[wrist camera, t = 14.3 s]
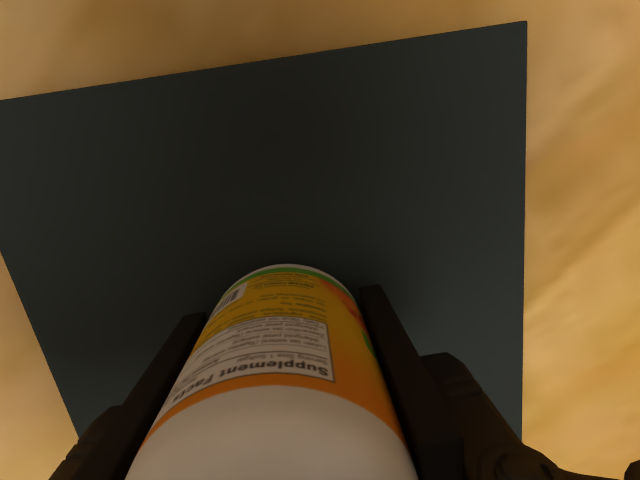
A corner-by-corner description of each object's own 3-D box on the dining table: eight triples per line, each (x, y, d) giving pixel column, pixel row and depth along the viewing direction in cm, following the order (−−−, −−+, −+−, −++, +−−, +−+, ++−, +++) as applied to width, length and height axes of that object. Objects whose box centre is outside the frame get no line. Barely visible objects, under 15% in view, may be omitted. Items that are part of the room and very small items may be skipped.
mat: (-46, 110, 11) (-61, 109, 10) (518, 25, 11) (528, 19, 11) (126, 527, 16) (120, 539, 15) (515, 463, 16) (521, 473, 15)
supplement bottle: (363, 388, 13) (505, 960, 4) (222, 397, 13) (25, 1020, 4) (362, 255, 12) (580, 663, 3) (203, 263, 12) (-187, 738, 2)
